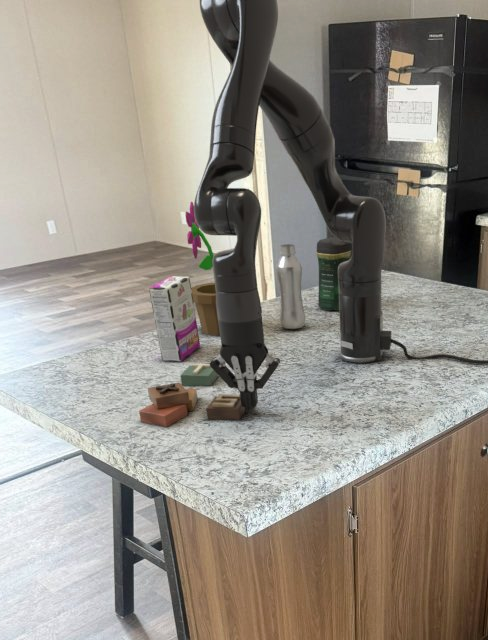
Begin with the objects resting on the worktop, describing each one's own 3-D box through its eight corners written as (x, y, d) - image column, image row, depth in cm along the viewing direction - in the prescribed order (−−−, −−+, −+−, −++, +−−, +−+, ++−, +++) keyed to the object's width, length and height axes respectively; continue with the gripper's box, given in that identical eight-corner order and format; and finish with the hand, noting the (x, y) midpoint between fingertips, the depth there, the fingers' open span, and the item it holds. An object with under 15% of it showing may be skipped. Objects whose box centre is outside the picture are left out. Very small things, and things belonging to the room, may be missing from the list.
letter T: (218, 375, 148) (216, 363, 147) (210, 385, 143) (208, 372, 142) (191, 375, 149) (189, 362, 148) (181, 385, 144) (179, 372, 143)
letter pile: (203, 399, 137) (200, 375, 135) (180, 427, 125) (176, 401, 123) (163, 398, 138) (158, 374, 135) (136, 426, 126) (130, 400, 124)
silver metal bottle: (310, 326, 180) (305, 243, 170) (297, 333, 175) (291, 248, 164) (289, 323, 182) (282, 242, 172) (275, 330, 177) (268, 247, 167)
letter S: (247, 407, 133) (246, 393, 131) (239, 420, 128) (237, 405, 126) (216, 407, 133) (214, 393, 132) (207, 419, 128) (205, 405, 127)
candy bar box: (181, 346, 167) (170, 275, 159) (201, 347, 166) (191, 276, 158) (160, 361, 157) (147, 286, 149) (181, 362, 157) (169, 287, 148)
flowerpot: (201, 322, 185) (184, 198, 170) (255, 321, 184) (242, 197, 169) (187, 338, 173) (167, 206, 157) (245, 337, 172) (230, 205, 157)
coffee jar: (337, 313, 190) (334, 240, 181) (314, 309, 194) (310, 238, 184) (357, 305, 197) (355, 235, 188) (334, 301, 201) (331, 233, 191)
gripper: (195, 320, 118) (209, 416, 127) (272, 321, 117) (281, 417, 126) (208, 309, 124) (221, 400, 133) (281, 309, 123) (289, 401, 132)
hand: (250, 408), depth 129 cm, fingers closed
